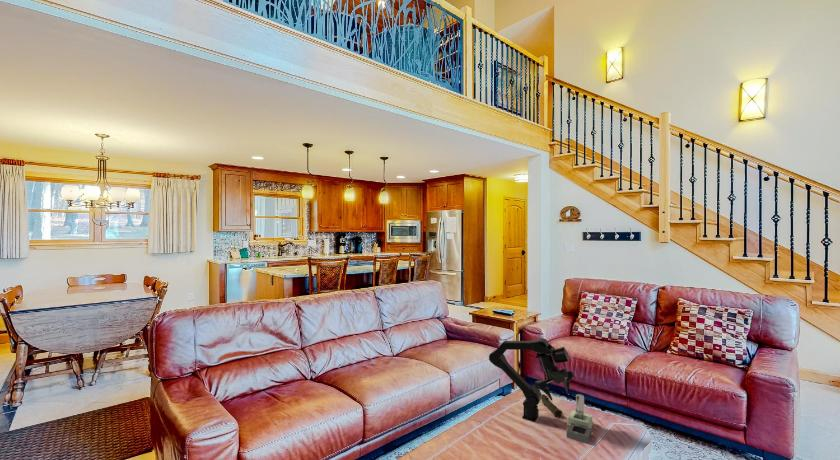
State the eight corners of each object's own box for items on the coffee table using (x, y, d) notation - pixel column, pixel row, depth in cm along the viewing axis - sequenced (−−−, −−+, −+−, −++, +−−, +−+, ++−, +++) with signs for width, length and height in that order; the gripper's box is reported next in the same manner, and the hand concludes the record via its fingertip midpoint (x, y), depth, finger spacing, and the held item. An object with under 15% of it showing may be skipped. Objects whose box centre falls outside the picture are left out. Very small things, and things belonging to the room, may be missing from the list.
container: (566, 426, 185) (566, 417, 185) (571, 417, 193) (571, 409, 193) (589, 432, 179) (589, 424, 179) (593, 423, 187) (593, 415, 187)
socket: (566, 437, 175) (566, 430, 175) (571, 429, 182) (571, 422, 182) (587, 444, 169) (587, 437, 169) (591, 435, 177) (591, 428, 177)
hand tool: (562, 418, 193) (562, 408, 193) (554, 418, 193) (555, 409, 193) (546, 401, 212) (546, 392, 212) (539, 401, 211) (539, 393, 211)
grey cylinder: (577, 424, 184) (577, 397, 184) (575, 420, 188) (575, 394, 188) (584, 424, 184) (584, 397, 184) (582, 421, 188) (582, 394, 187)
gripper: (539, 373, 179) (551, 408, 176) (573, 360, 182) (586, 393, 180) (529, 370, 189) (540, 402, 187) (562, 357, 193) (573, 389, 191)
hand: (560, 397), depth 186 cm, fingers open, 9 cm apart
